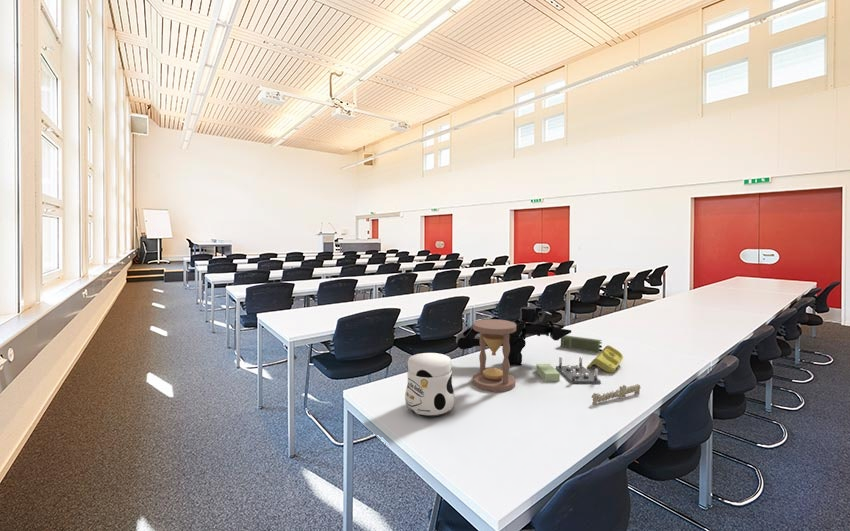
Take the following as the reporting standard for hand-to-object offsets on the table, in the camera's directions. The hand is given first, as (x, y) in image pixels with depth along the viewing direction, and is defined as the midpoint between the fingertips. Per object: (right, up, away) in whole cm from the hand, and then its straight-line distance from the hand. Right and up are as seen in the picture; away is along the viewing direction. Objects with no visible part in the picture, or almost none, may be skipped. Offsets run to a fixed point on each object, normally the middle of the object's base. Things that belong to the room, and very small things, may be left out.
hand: (567, 328), depth 180 cm
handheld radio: (+18, -15, +22) cm, 32 cm away
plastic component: (+17, -17, -3) cm, 25 cm away
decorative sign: (+4, -20, -38) cm, 43 cm away
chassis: (-1, -18, -15) cm, 23 cm away
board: (-14, -18, -15) cm, 27 cm away
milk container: (-66, -21, -46) cm, 83 cm away
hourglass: (-39, -19, -23) cm, 49 cm away
